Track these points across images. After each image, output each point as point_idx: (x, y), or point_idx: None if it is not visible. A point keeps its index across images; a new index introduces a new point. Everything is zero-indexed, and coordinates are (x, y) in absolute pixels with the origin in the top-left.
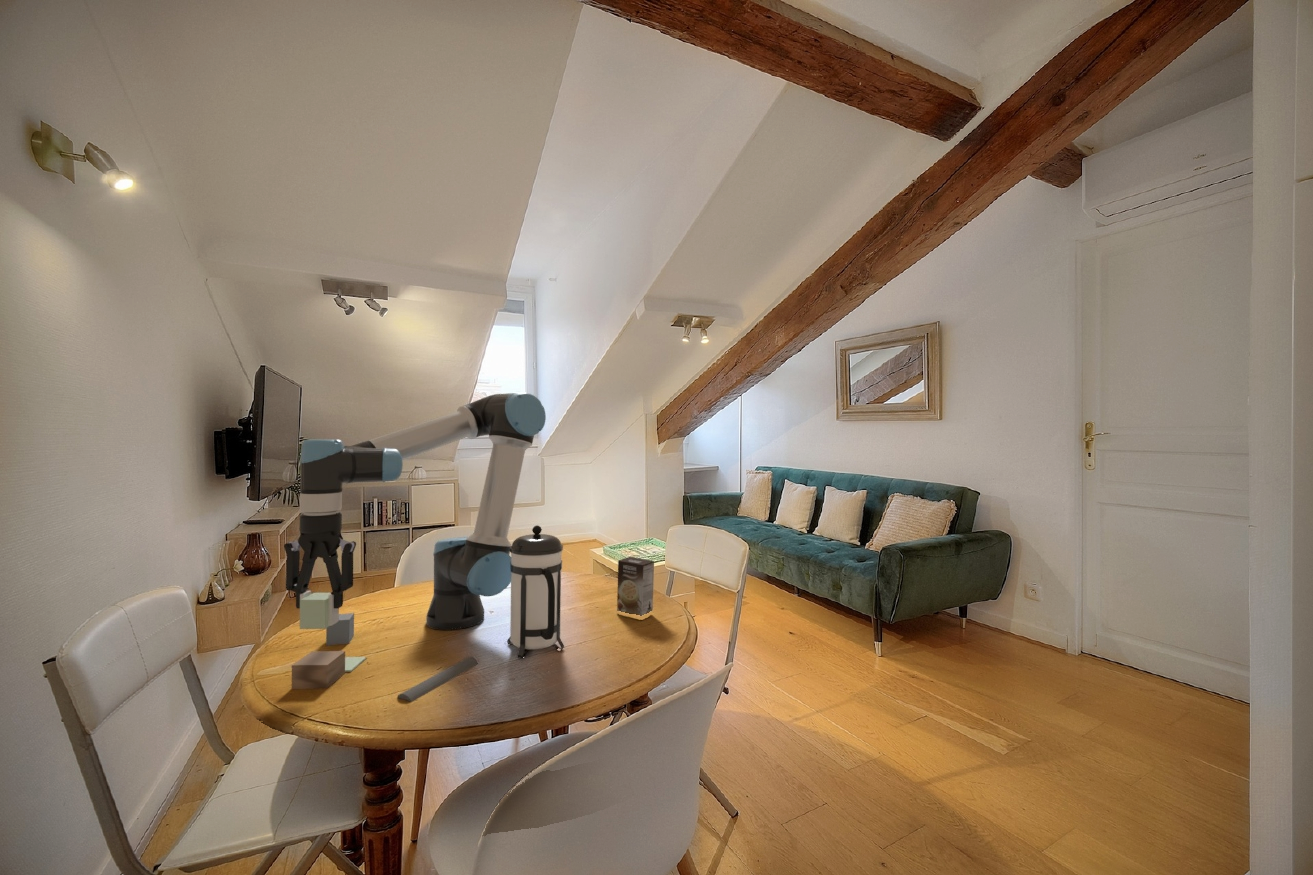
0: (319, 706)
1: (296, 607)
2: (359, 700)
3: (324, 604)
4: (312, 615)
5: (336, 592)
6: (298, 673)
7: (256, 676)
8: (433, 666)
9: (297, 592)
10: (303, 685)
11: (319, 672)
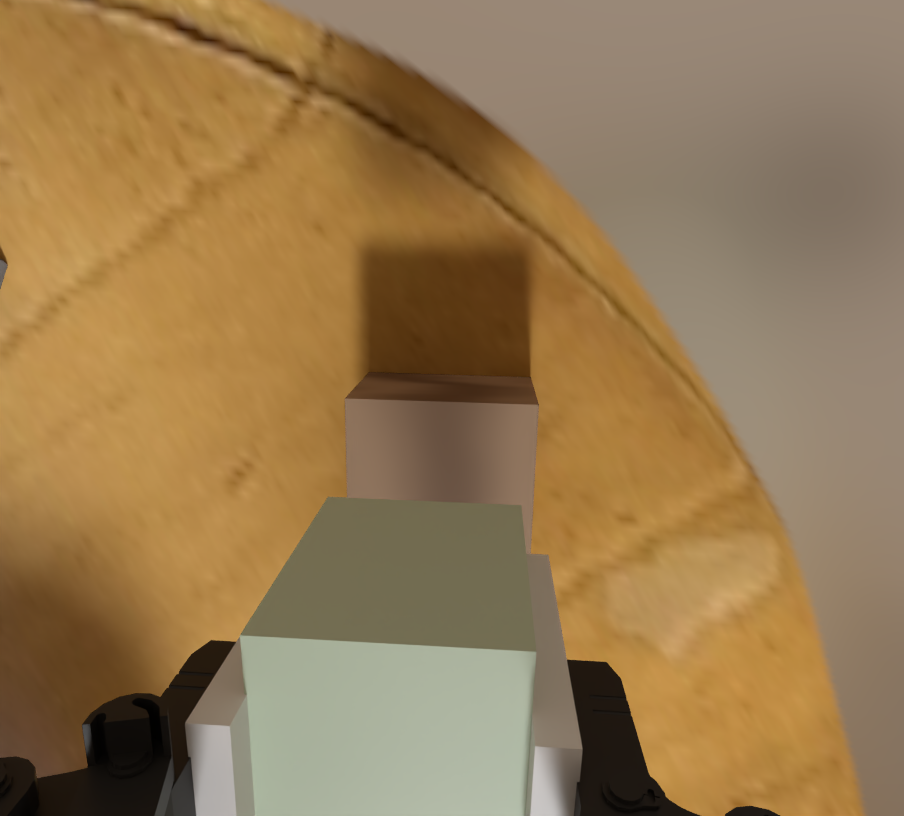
0: (308, 195)
1: (612, 670)
2: (160, 245)
3: (267, 602)
4: (410, 552)
5: (93, 716)
6: (500, 392)
7: (765, 516)
8: (11, 560)
9: (621, 773)
10: (476, 378)
11: (394, 390)
